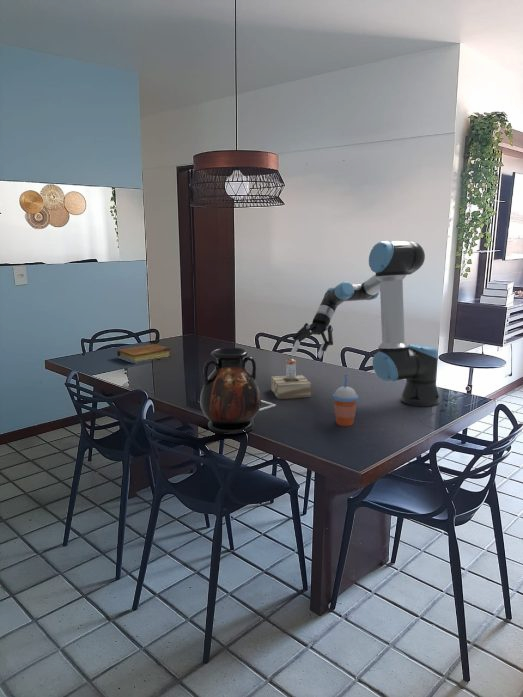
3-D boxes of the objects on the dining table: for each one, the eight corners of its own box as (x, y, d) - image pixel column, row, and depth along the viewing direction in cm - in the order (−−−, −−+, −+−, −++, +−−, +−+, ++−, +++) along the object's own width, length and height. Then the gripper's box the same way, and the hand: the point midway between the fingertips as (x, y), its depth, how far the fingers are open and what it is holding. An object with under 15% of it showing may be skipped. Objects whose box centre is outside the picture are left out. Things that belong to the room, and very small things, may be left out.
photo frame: (246, 394, 229) (276, 404, 216) (246, 397, 229) (276, 406, 217) (219, 402, 219) (249, 412, 207) (219, 404, 220) (249, 415, 207)
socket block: (310, 396, 228) (310, 383, 227) (278, 398, 226) (278, 385, 224) (302, 387, 242) (302, 374, 240) (271, 389, 239) (271, 376, 238)
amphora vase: (249, 414, 206) (248, 342, 200) (270, 433, 186) (270, 354, 180) (194, 422, 198) (191, 347, 193) (210, 442, 179) (208, 360, 173)
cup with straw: (354, 418, 201) (356, 372, 197) (359, 427, 192) (361, 378, 188) (330, 419, 200) (331, 372, 197) (334, 427, 191) (335, 378, 188)
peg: (296, 391, 232) (297, 360, 229) (287, 392, 231) (287, 360, 228) (294, 389, 236) (294, 358, 233) (285, 389, 235) (285, 358, 232)
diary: (153, 353, 316) (152, 343, 315) (171, 358, 302) (170, 348, 301) (117, 359, 301) (116, 349, 299) (134, 365, 287) (133, 354, 286)
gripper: (350, 324, 244) (333, 362, 235) (303, 320, 259) (285, 356, 250) (344, 313, 239) (327, 352, 230) (297, 310, 253) (279, 347, 244)
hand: (305, 354), depth 240 cm, fingers open, 13 cm apart
